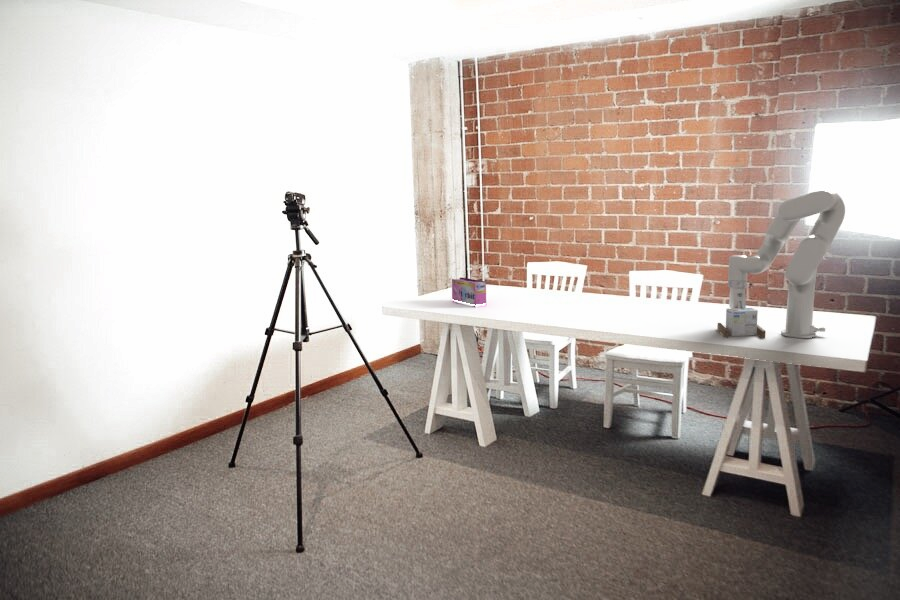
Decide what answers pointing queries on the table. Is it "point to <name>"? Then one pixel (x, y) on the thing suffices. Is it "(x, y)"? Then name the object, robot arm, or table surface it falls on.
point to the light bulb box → (741, 321)
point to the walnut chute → (725, 332)
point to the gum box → (469, 290)
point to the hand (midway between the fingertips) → (735, 325)
